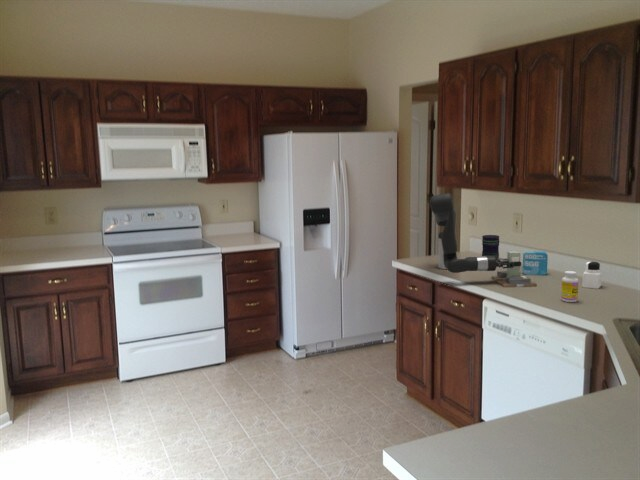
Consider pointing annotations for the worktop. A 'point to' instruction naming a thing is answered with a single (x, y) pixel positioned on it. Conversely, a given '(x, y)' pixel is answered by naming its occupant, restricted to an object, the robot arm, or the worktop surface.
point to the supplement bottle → (569, 287)
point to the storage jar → (490, 245)
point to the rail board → (503, 282)
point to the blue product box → (535, 263)
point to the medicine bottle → (592, 275)
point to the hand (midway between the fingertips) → (518, 262)
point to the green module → (513, 257)
